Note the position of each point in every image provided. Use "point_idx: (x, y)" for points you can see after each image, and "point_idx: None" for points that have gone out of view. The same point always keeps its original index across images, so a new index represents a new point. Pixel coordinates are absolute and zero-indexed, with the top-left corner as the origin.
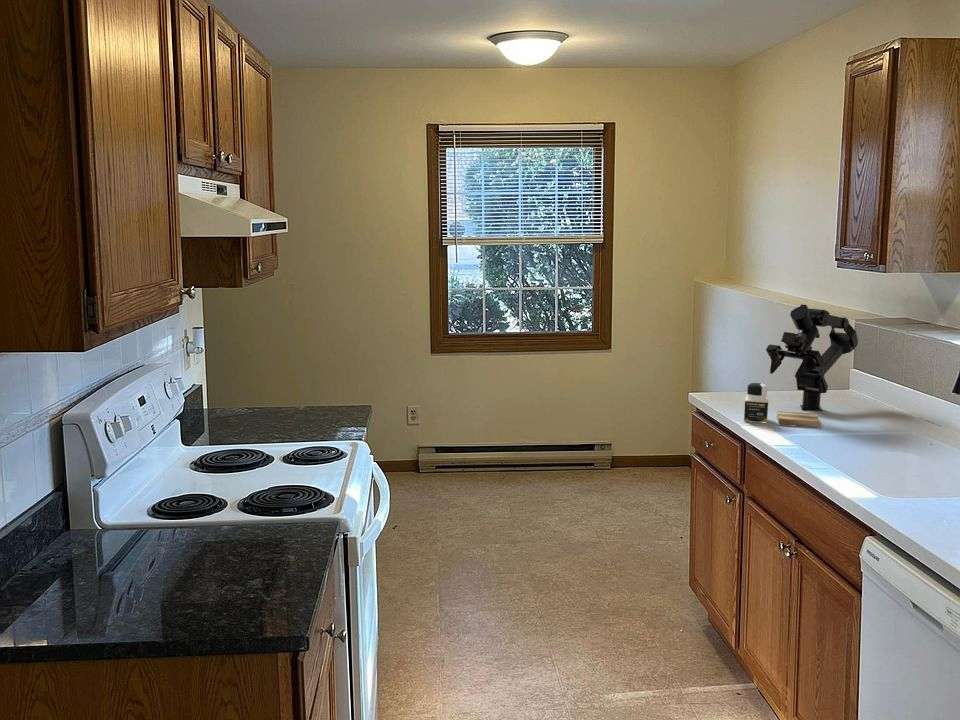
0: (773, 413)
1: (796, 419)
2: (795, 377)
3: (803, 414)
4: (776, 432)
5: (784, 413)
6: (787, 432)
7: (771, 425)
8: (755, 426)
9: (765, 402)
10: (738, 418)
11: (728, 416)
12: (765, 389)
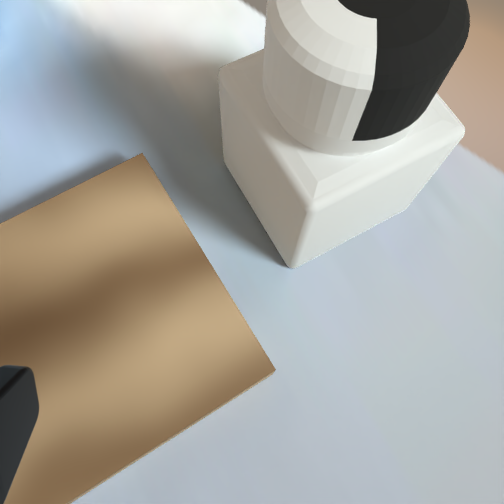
0: (359, 480)
1: (47, 214)
2: (35, 397)
3: (68, 413)
4: (87, 29)
5: (195, 331)
6: (42, 63)
7: (179, 139)
8: None
9: (232, 63)
10: None
11: (478, 162)
12: (266, 16)
